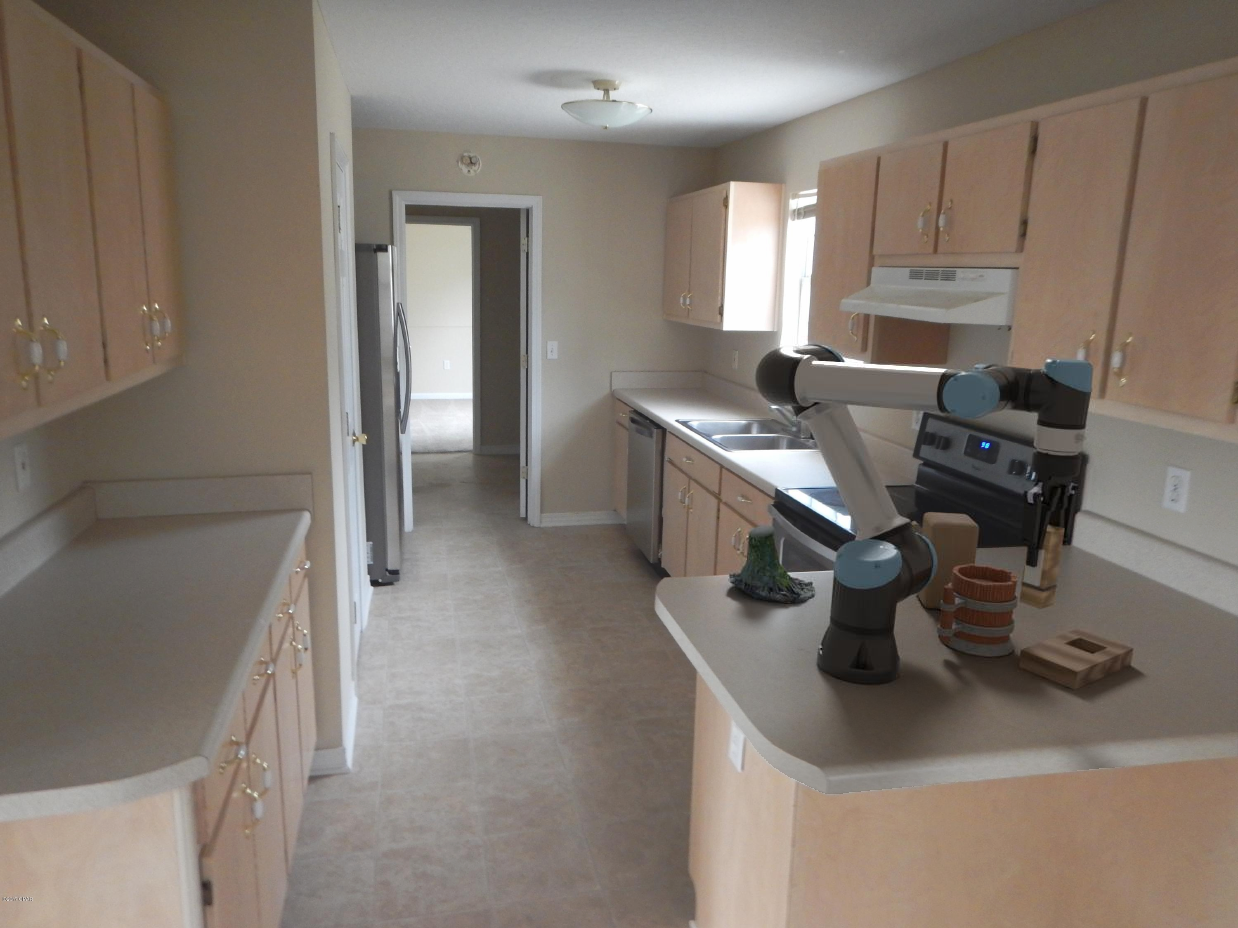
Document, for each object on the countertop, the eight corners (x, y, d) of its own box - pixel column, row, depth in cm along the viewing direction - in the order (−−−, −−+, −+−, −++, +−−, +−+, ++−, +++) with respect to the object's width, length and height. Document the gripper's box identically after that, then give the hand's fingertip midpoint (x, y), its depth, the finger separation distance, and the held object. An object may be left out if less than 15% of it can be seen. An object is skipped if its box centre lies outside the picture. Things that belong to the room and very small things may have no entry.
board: (1074, 689, 161) (1077, 671, 160) (1018, 666, 170) (1020, 649, 169) (1130, 664, 172) (1133, 648, 171) (1075, 644, 181) (1077, 628, 180)
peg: (1040, 609, 154) (1051, 531, 151) (1018, 601, 158) (1029, 525, 154) (1053, 604, 156) (1064, 528, 153) (1032, 597, 160) (1042, 522, 157)
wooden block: (958, 596, 206) (968, 513, 202) (970, 612, 197) (981, 525, 192) (913, 593, 207) (922, 510, 203) (923, 609, 198) (933, 522, 193)
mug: (1028, 648, 178) (1037, 577, 175) (969, 669, 168) (978, 594, 164) (967, 624, 190) (975, 557, 186) (908, 643, 179) (915, 572, 176)
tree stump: (833, 602, 201) (825, 531, 195) (754, 630, 197) (743, 558, 191) (793, 572, 218) (784, 505, 212) (720, 597, 213) (708, 529, 207)
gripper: (1050, 459, 143) (1031, 596, 148) (1106, 450, 153) (1086, 579, 158) (1007, 451, 149) (991, 582, 154) (1064, 442, 159) (1046, 567, 164)
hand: (1039, 580), depth 156 cm, fingers closed on peg, 4 cm apart
